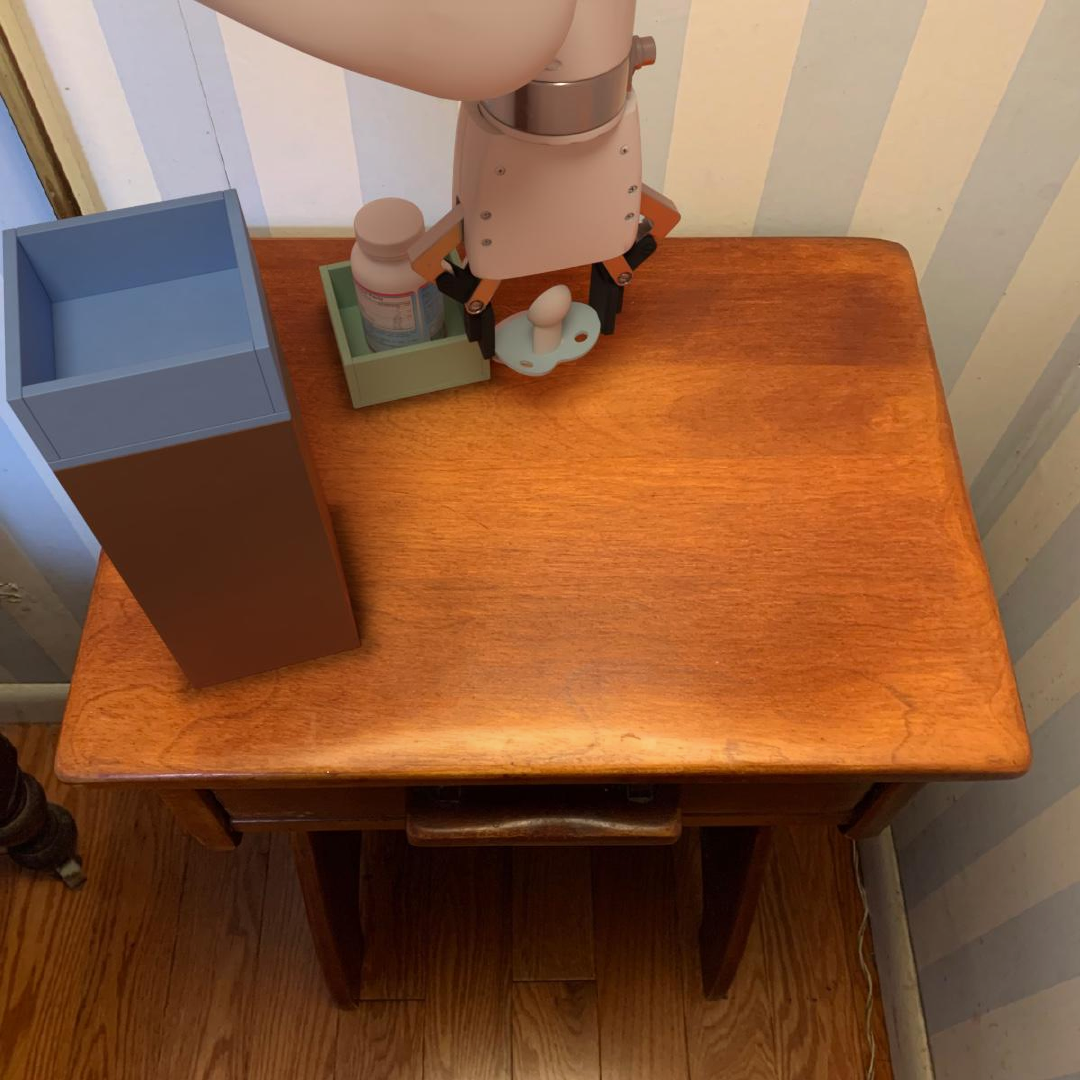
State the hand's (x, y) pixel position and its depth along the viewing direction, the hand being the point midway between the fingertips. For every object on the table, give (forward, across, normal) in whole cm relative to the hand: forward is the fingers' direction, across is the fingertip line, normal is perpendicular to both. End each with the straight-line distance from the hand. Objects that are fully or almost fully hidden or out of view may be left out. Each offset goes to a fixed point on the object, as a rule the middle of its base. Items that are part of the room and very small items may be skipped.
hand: (542, 330), depth 66 cm
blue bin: (+10, +21, +9) cm, 25 cm away
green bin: (+9, +7, -10) cm, 16 cm away
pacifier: (+2, 0, 0) cm, 2 cm away
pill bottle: (+9, +7, -10) cm, 15 cm away
